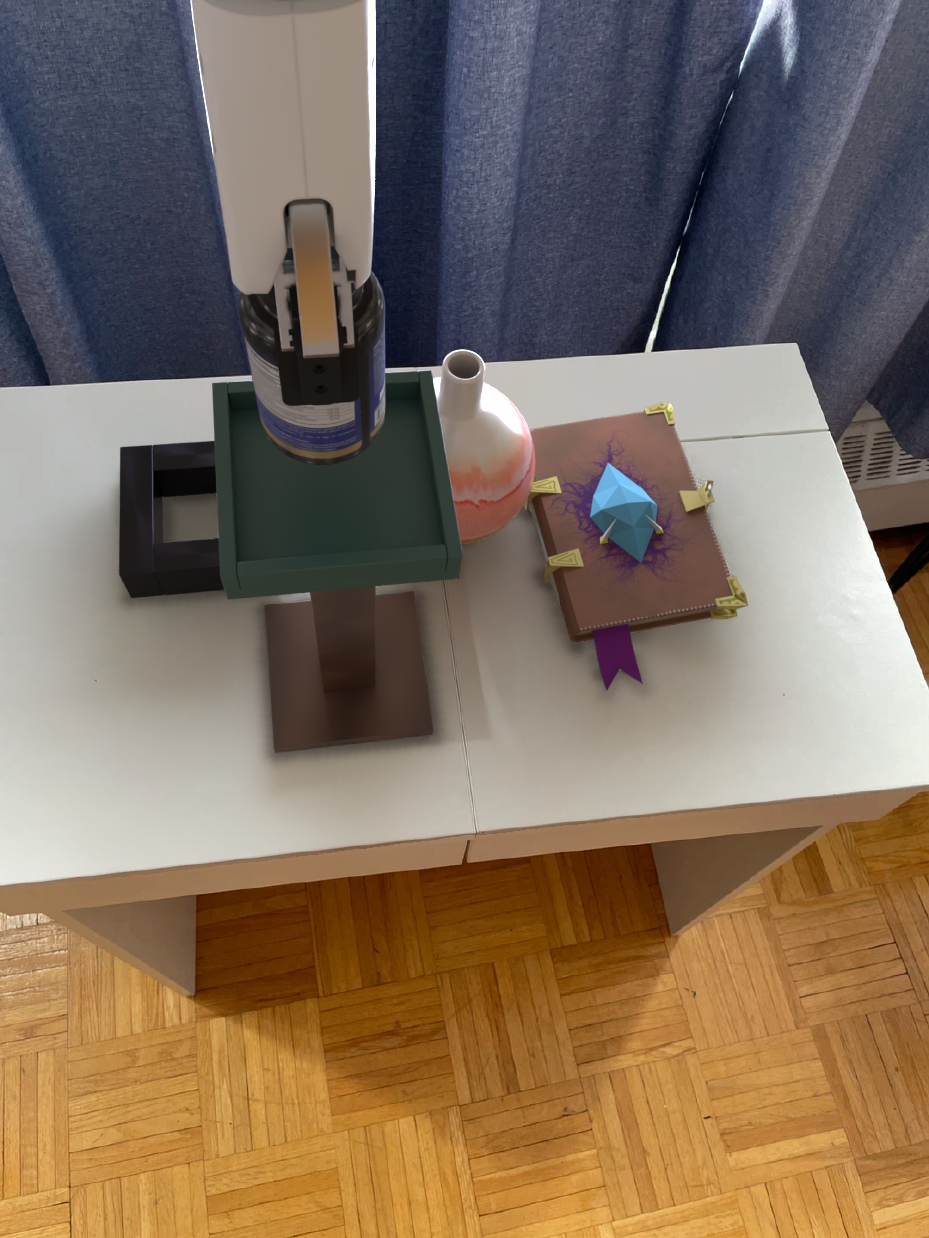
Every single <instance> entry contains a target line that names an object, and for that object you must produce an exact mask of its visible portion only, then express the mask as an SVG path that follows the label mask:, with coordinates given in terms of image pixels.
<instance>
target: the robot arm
mask: <svg viewBox="0 0 929 1238" xmlns="http://www.w3.org/2000/svg"><path fill="white" fill-rule="evenodd" d="M190 7H191V17H192V24H193V31H194V40H195V47H196V55H197V61H198V68H199V74H200V75H199V76H200V81H201V82H200V83H201V89H202V94H203V95H202V96H203V101H204V107H205V114H206V120H207V127H208V132H209V133H208V134H209V138H210V146H211V151H212V157H213V163H214V168H215V175H216V181H217V189H218V194H219V201H220V207H221V214H222V220H223V227H224V232H225V240H226V246H227V247H226V248H227V253H228V261H229V268H230V275H231V282H232V284H233V285H234V286H235V287H236V288H237V289H238V290H239V292H240V291H241V292H243V293H244V294H245V295H251V294H268V293H269V292H270V290H271V288H272V286H273V284H274V288H275V297H276V306H277V314H278V323H279V329H273V330H274V341H275V348H276V356H277V363H278V371H279V378H280V385H281V393H282V400H283V403H284V404H286V405H288V406H301V405H315V406H319V405H330V404H333V403H346V402H354V401H356V400H358V399H359V397H360V382H359V334H358V327H357V325H353V310H352V293H351V283H354V286H355V289H358V288H359V287H360V286H361V285H363V284H364V283H365V281H366V280H367V279H368V277H369V276H370V273H371V271H372V264H373V263H372V261H373V246H374V245H373V244H374V243H373V241H374V222H375V221H374V219H375V217H374V216H375V185H376V184H375V183H376V182H375V180H376V178H375V177H376V91H377V90H376V84H377V83H376V82H377V81H376V0H190ZM332 246H335V249H336V251H337V256H338V258H331V251H330V247H332ZM287 248H293V258H294V260H284V258H285V256H286V253H287ZM334 286H336V300H337V314H338V316H336V307H335V296H334ZM289 288H297V298H298V308H299V318H293V320H294V324H293V322H292V312H291V302H290V293H289Z"/></svg>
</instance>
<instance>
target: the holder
mask: <svg viewBox="0 0 929 1238" xmlns="http://www.w3.org/2000/svg"><path fill="white" fill-rule="evenodd" d="M213 494H214V495H215V494H217V489H216V465H215V442H214V440H203V441H188V442H175V443H174V442H173V443H160V444H159V443H157V444H143V445H129V446H120V447H119V514H118V515H119V516H118V517H119V520H118V521H119V522H118V523H119V525H118V529H119V531H118V576H119V578H120V580H121V582H122V583H123V586H124V588H125V589H126V591H127V593H128V595H129V597H130V599H141V598H152V597H162V596H174V595H185V594H186V595H187V594H196V593H197V594H198V593H209V592H219V591H225V590H224V587H223V584H222V581H221V577H220V559H219V537H213V538H202V539H201V538H200V539H190V540H189V539H188V540H177V541H176V540H175V541H165V542H164V498H173V497H174V498H175V497H186V496H187V497H188V496H199V495H213Z"/></svg>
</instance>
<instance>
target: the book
mask: <svg viewBox="0 0 929 1238" xmlns="http://www.w3.org/2000/svg"><path fill="white" fill-rule="evenodd" d="M675 425H676V417H675V409H674V407H673V406H672V404H671V403H670V402H659V403H655V404H653V405H650V406H647V407H645V408H644V410H641V411H634V412H628V413H621V414H616V415H609V416H602V417H597V418H596V417H595V418H591V419H584V420H577V421H571V422H564V423H558V424H551V425H546V426H539V427H533V428H529V430H530V433H531V436H532V440H533V444H534V450H535V474H534V481H533V484H532V488H531V491H530V494H529V496H528V498H527V500H526V502H525V504H524V506H523V507H524V510H525V512H530V514H531V518H532V521H533V524H534V527H535V530H536V536H537V538H538V543H539V545H540V549H541V553H542V557H543V560H544V564H545V569H544V573H543V576H544V580H545V583H546V584H550V585H551V588H552V592H553V595H554V598H555V601H556V603H557V605H558V608H559V610H560V611H561V613H562V617H563V621H564V624H565V627H566V630H567V634H568V638H569V640H570V641H571V642H573V643H575V644H578V643H584V642H589V641H593V642H594V648H595V652H596V658H597V663H598V667H599V670H600V674H601V678H602V681H603V685H604V687H605V690H606V692H608V691H609V688H610V687H611V685H612V683H613V681H614V680H615V678H616V676H617V674H618V673H619V671H621V672H623V673H624V674H626V675H628V676H629V677H630V678H632V679H633V680H635V681H637V682H638V683H640V684H641V685H644V682H643V679H642V676H641V673H640V670H639V667H638V662H637V659H636V654H635V650H634V645H633V640H632V635H631V634H632V633H639V632H643V631H649V630H653V629H659V628H664V627H670V626H675V625H676V626H677V625H680V624H686V623H693V622H697V621H703V620H707V619H708V620H709V619H710V620H730V619H732V618H733V619H734V618H736V617H738V615H739V614H738V611H737V610H739V609H741V608H746V607H748V606H749V602H748V598H747V594H746V591H745V589H744V588H743V587H742V585H741V583H740V582H739V580H738V579H737V577H736V575H731V573H730V569H729V568H728V564H727V562H726V559H725V557H724V554H723V552H722V548H721V546H720V543H719V541H718V538H717V536H716V533H715V530H714V527H713V525H712V522H711V519H710V517H709V513H708V510H709V505H710V504H713V503H715V502H716V500H715V498H714V497H715V496H714V495H713V492H712V489H713V487H714V482H715V481H714V480H709V479H707V480H706V481H705V483H704V484H701V485H700V486H699V487H698V485H697V484H698V483H697V482H696V480H695V476H694V474H693V470H692V469H691V466H690V463H689V461H688V458H687V456H686V453H685V450H684V448H683V447H684V446H683V445H682V442H681V440H680V436H679V433H678V431H677V429H676V426H675Z"/></svg>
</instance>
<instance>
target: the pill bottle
mask: <svg viewBox="0 0 929 1238" xmlns="http://www.w3.org/2000/svg"><path fill="white" fill-rule="evenodd" d="M330 251H331V258H338V256H337V251H336V249H335V246H332V247H330ZM284 260H294V258H293V248H287V253H286V256H285V258H284ZM289 293H290V302H291V312H292V322H293V324H294V320H293V318H299V308H298V298H297V288H289ZM351 293H352V310H353V325H357V327H358V334H359V382H360V397H359V399H358V400H356V401H354V402H346V403H333V404H330V405H319V406H315V405H301V406H288V405H286V404H284V403H283V400H282V393H281V385H280V378H279V371H278V363H277V356H276V348H275V341H274V330H273V329H279V323H278V314H277V306H276V297H275V288H274V284H273V286H272V288H271V290H270V292H269V293H268V294H251V295H245V294H244V293H243V292H241V291H240V290H239V296H238V304H237V306H238V307H237V309H238V316H239V322H240V325H241V330H242V335H243V339H244V340H243V341H244V345H245V350H246V355H247V360H248V365H249V371H250V374H251V380H253V385H254V390H255V395H256V400H257V405H258V410H259V415H260V422H261V425H262V427H263V430H264V432H265V434H266V436H267V437H268V439H269V441H270V442H271V443H272V444H273V445H274V446H275V447H276V448H278V449H279V450H280V451H281V452H283V453H284V454H285V455H287V456H289V457H290V458H292V459H295V460H297V461H301V462H303V463H308V464H314V465H330V464H337V463H341V462H344V461H347V460H349V459H351V458H354V457H356V456H357V455H358V454H359V453H361V452H363V451H364V450H365V449H366V448H368V447H369V446H370V445H371V444H372V443H373V442H374V441H375V439H376V438H377V437H378V435H379V433H380V431H381V428H382V426H383V424H384V417H385V372H386V302H385V296H384V291H383V289H382V286H381V284H380V282H379V280H378V278H377V276H375V273H374V272H373V271H372V270H371V273H370V276H369V277H368V279H367V280H366V281H365V283H364V284H363V285H361V286H360V287H359V288H358V289H355V286H354V283H351ZM334 296H335V307H336V316H338V314H337V300H336V286H334Z"/></svg>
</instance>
